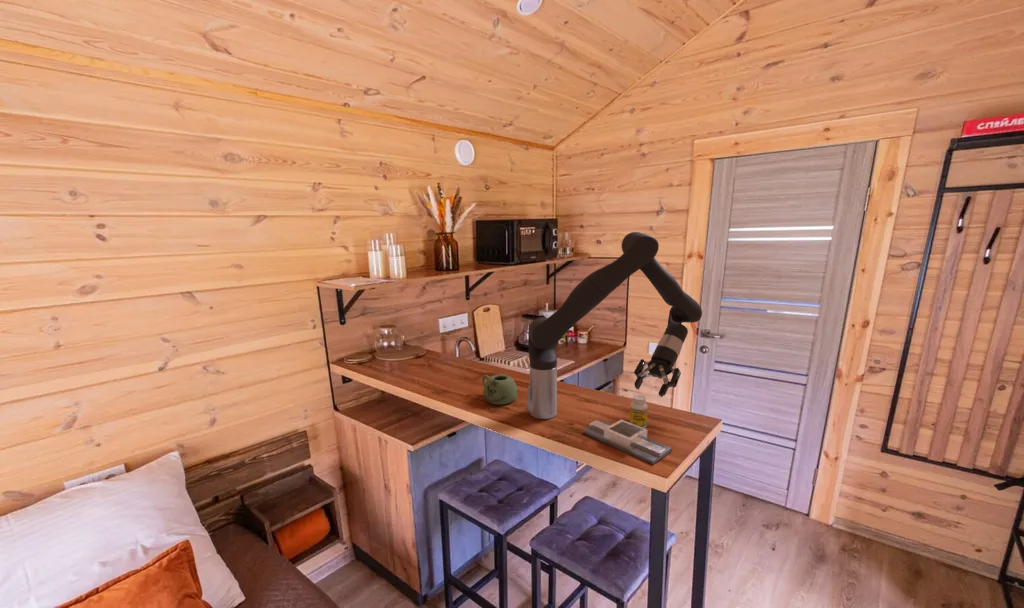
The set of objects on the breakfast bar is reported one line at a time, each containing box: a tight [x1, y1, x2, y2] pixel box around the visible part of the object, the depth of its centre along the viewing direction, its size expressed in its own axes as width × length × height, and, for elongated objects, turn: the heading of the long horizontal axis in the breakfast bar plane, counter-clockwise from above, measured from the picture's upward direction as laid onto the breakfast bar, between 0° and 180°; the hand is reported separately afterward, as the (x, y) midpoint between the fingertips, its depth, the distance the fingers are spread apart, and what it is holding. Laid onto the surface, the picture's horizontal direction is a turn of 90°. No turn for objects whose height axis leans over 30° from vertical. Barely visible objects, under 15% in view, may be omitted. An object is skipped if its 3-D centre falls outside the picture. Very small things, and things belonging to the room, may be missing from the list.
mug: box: [482, 374, 518, 406], centre depth 156 cm, size 16×13×9 cm
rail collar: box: [582, 419, 673, 465], centre depth 123 cm, size 24×10×4 cm, turn 42°
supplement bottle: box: [629, 394, 649, 429], centre depth 133 cm, size 5×5×10 cm
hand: (648, 391), depth 136 cm, fingers open, 8 cm apart
